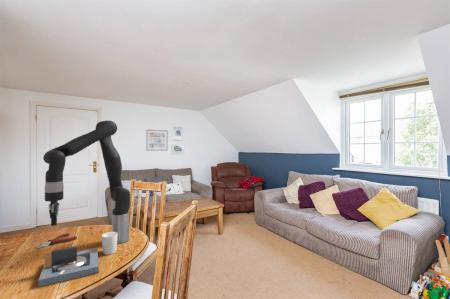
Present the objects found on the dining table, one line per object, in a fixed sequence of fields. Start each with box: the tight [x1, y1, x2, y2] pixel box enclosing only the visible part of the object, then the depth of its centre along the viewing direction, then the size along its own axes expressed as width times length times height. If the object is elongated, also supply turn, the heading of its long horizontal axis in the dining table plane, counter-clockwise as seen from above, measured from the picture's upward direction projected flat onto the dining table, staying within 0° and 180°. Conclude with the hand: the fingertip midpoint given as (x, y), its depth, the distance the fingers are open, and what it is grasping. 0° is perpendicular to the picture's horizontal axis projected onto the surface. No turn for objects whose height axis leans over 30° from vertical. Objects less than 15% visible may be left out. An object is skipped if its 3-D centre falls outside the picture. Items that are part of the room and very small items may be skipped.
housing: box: [37, 248, 100, 288], centre depth 110 cm, size 22×22×3 cm
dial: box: [44, 245, 86, 272], centre depth 109 cm, size 16×12×9 cm
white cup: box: [101, 231, 118, 256], centre depth 127 cm, size 8×8×10 cm
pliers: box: [34, 233, 78, 249], centre depth 139 cm, size 12×20×3 cm, turn 151°
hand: (54, 225), depth 113 cm, fingers closed
